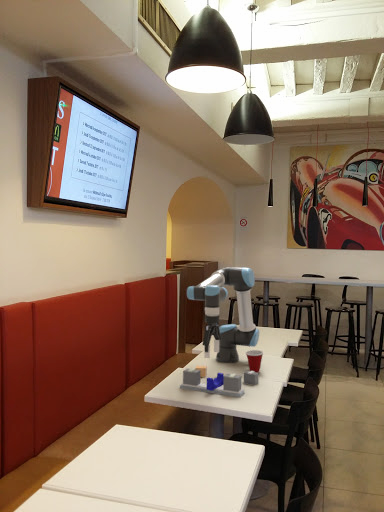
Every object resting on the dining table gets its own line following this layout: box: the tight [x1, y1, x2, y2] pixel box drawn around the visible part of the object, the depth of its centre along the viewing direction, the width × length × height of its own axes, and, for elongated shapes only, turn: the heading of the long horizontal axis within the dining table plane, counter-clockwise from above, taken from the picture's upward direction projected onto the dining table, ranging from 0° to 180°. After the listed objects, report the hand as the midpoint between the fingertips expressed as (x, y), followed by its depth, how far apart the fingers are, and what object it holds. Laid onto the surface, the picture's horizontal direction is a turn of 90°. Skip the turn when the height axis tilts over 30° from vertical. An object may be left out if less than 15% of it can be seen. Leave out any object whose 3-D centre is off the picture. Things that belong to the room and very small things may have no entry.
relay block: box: [243, 370, 260, 386], centre depth 253 cm, size 4×7×6 cm, turn 56°
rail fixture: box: [179, 367, 245, 398], centre depth 240 cm, size 6×34×10 cm, turn 66°
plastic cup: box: [245, 349, 264, 373], centre depth 276 cm, size 11×11×12 cm
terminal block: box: [194, 365, 208, 378], centre depth 267 cm, size 5×6×5 cm
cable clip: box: [206, 372, 225, 391], centre depth 239 cm, size 12×4×6 cm, turn 145°
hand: (211, 355), depth 240 cm, fingers open, 13 cm apart
